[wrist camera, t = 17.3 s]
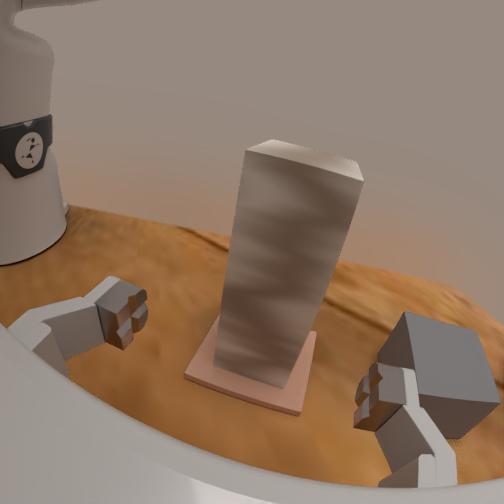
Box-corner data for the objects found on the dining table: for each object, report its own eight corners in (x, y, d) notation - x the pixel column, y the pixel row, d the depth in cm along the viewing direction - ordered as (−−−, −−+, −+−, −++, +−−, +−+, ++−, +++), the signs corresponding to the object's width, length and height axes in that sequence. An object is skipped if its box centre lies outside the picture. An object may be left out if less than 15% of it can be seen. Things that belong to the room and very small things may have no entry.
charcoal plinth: (378, 432, 16) (418, 393, 13) (378, 353, 22) (404, 311, 20) (459, 438, 14) (500, 402, 12) (446, 368, 21) (475, 331, 19)
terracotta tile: (184, 377, 18) (184, 372, 18) (224, 308, 25) (225, 303, 24) (298, 416, 17) (301, 412, 16) (314, 336, 23) (316, 332, 23)
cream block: (212, 365, 19) (245, 149, 12) (236, 320, 23) (272, 139, 16) (283, 389, 18) (364, 181, 11) (296, 339, 22) (356, 162, 15)
